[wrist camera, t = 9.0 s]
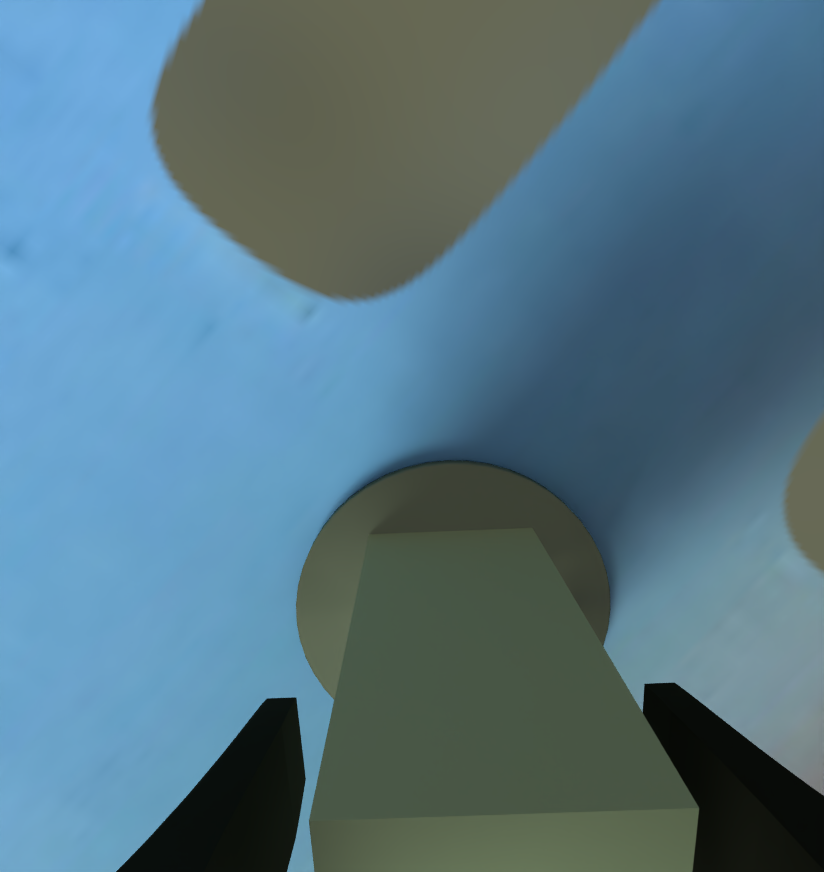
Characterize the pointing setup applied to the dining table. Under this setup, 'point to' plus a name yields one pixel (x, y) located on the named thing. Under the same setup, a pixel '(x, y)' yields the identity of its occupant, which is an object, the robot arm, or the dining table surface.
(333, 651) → the olive flat disc
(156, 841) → the robot arm
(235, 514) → the dining table surface
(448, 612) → the block
